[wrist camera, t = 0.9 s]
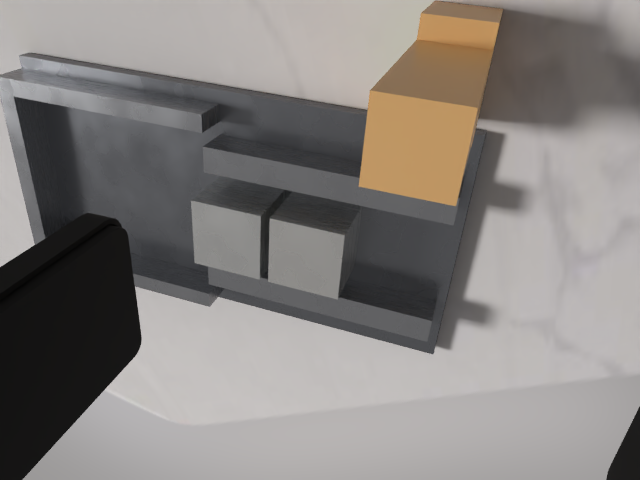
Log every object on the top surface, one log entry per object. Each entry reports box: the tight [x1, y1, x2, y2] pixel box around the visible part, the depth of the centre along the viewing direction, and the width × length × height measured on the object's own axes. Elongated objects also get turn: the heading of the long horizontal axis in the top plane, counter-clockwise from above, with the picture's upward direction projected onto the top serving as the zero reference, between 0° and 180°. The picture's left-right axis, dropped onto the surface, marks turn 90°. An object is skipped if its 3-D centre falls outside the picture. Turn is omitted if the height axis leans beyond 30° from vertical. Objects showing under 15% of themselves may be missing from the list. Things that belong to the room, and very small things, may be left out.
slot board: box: [0, 53, 486, 354], centre depth 33 cm, size 14×27×3 cm, turn 86°
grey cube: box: [268, 192, 362, 300], centre depth 30 cm, size 4×4×4 cm
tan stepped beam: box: [359, 1, 503, 206], centre depth 21 cm, size 5×3×12 cm, turn 176°
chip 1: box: [191, 176, 285, 280], centre depth 31 cm, size 4×4×4 cm
